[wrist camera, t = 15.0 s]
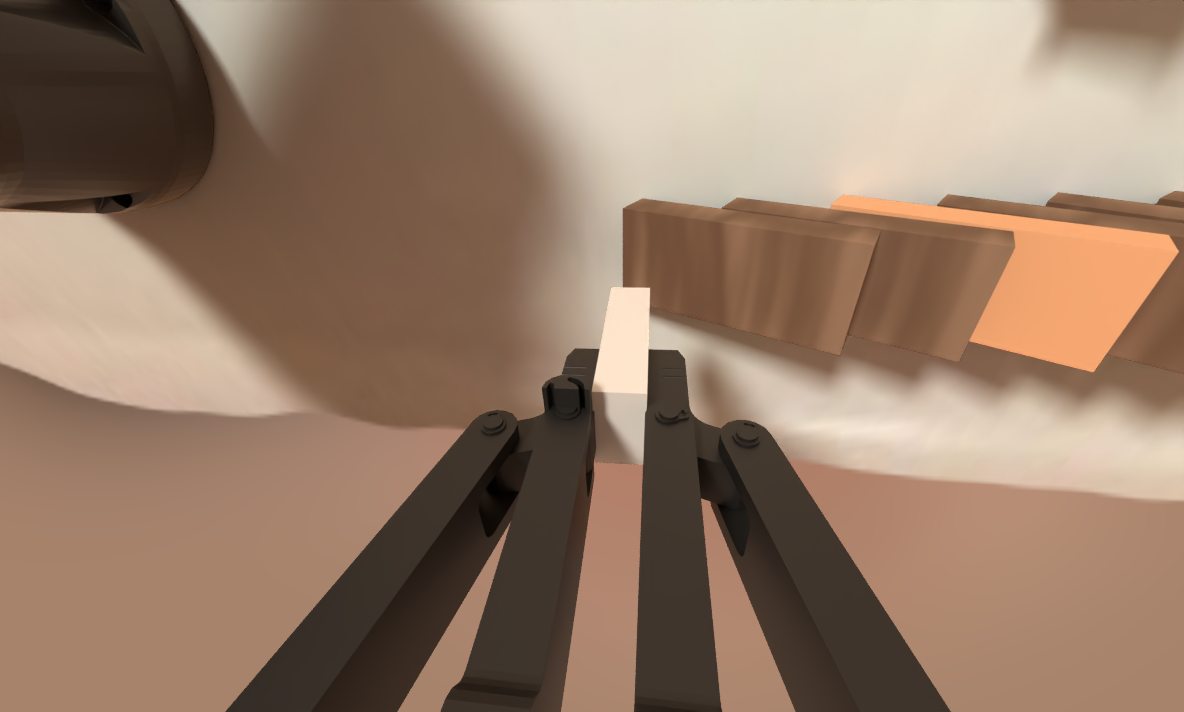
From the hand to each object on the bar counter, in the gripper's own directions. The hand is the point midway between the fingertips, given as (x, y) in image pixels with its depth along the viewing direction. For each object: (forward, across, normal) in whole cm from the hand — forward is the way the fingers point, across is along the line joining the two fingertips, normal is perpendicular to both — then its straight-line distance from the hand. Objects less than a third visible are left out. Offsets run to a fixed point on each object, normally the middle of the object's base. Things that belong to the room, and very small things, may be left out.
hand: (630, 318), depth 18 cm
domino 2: (+8, +5, 0) cm, 9 cm away
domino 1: (+8, 0, 0) cm, 8 cm away
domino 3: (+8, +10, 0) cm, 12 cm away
